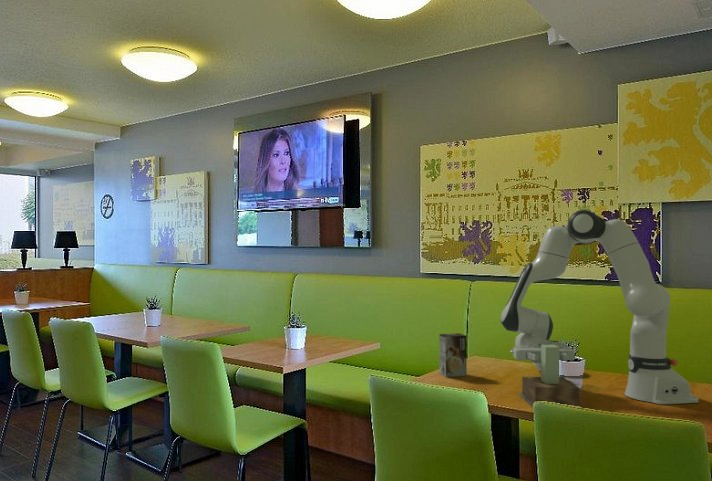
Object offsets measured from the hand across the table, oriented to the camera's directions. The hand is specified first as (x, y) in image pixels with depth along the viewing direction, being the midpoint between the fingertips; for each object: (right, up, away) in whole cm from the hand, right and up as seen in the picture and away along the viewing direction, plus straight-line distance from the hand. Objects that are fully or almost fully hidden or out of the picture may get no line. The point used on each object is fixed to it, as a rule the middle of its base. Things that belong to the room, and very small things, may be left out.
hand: (550, 358), depth 188 cm
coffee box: (-26, -15, +37) cm, 47 cm away
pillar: (0, -8, +1) cm, 8 cm away
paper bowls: (+16, -15, +45) cm, 50 cm away
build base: (0, -15, +1) cm, 15 cm away
